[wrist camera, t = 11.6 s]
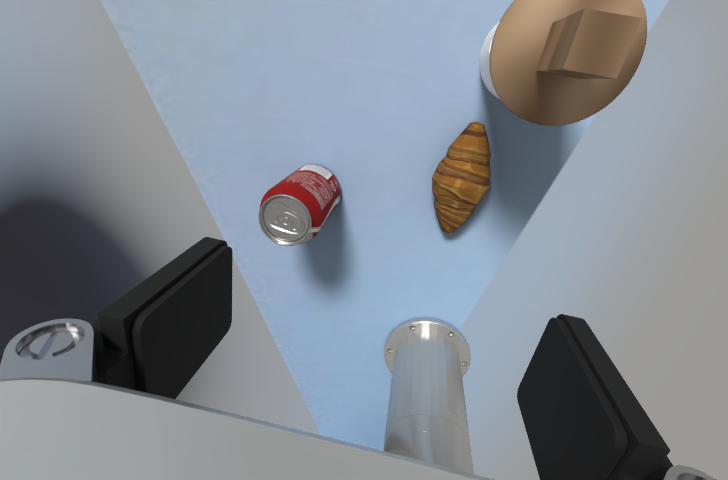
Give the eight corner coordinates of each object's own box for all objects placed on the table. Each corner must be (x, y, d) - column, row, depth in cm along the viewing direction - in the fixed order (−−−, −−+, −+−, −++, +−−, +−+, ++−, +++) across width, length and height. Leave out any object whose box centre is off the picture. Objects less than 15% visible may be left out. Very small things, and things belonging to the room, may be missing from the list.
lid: (668, -19, 25) (748, -51, 19) (601, 135, 30) (649, 150, 24) (515, -43, 26) (544, -82, 20) (472, 110, 31) (484, 119, 24)
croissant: (446, 115, 42) (448, 119, 38) (505, 126, 42) (514, 131, 37) (419, 222, 48) (419, 237, 44) (471, 233, 48) (476, 249, 43)
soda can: (304, 153, 46) (266, 176, 36) (351, 180, 47) (328, 210, 36) (283, 197, 49) (243, 231, 38) (327, 222, 50) (300, 262, 39)
